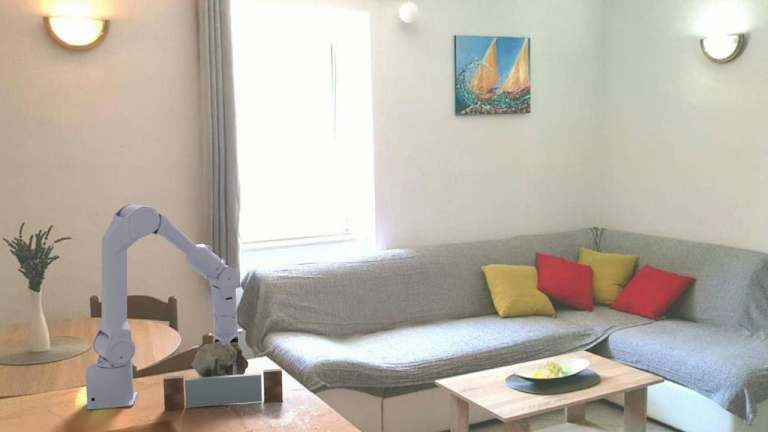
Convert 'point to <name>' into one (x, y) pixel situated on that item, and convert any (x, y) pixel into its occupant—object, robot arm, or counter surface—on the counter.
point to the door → (223, 390)
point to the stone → (220, 360)
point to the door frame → (176, 389)
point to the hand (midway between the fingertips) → (228, 367)
